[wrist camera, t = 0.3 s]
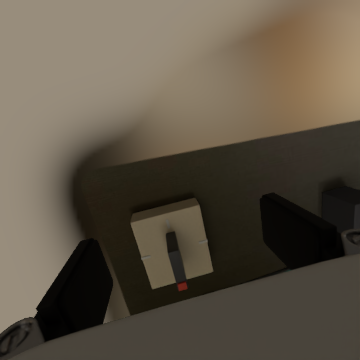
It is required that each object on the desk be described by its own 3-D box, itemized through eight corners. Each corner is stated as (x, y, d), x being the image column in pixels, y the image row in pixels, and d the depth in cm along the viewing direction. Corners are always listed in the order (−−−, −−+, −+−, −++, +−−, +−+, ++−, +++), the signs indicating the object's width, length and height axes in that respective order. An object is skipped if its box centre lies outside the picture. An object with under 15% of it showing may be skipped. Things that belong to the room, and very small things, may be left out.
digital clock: (322, 192, 32) (355, 204, 27) (345, 185, 33) (383, 197, 27) (321, 233, 35) (352, 252, 29) (344, 226, 35) (378, 244, 30)
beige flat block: (131, 213, 29) (129, 223, 26) (195, 197, 30) (200, 205, 27) (151, 275, 32) (151, 290, 29) (208, 259, 33) (214, 272, 30)
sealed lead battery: (165, 233, 27) (167, 254, 23) (174, 230, 27) (179, 251, 23) (174, 266, 29) (178, 292, 24) (183, 264, 29) (189, 289, 24)
